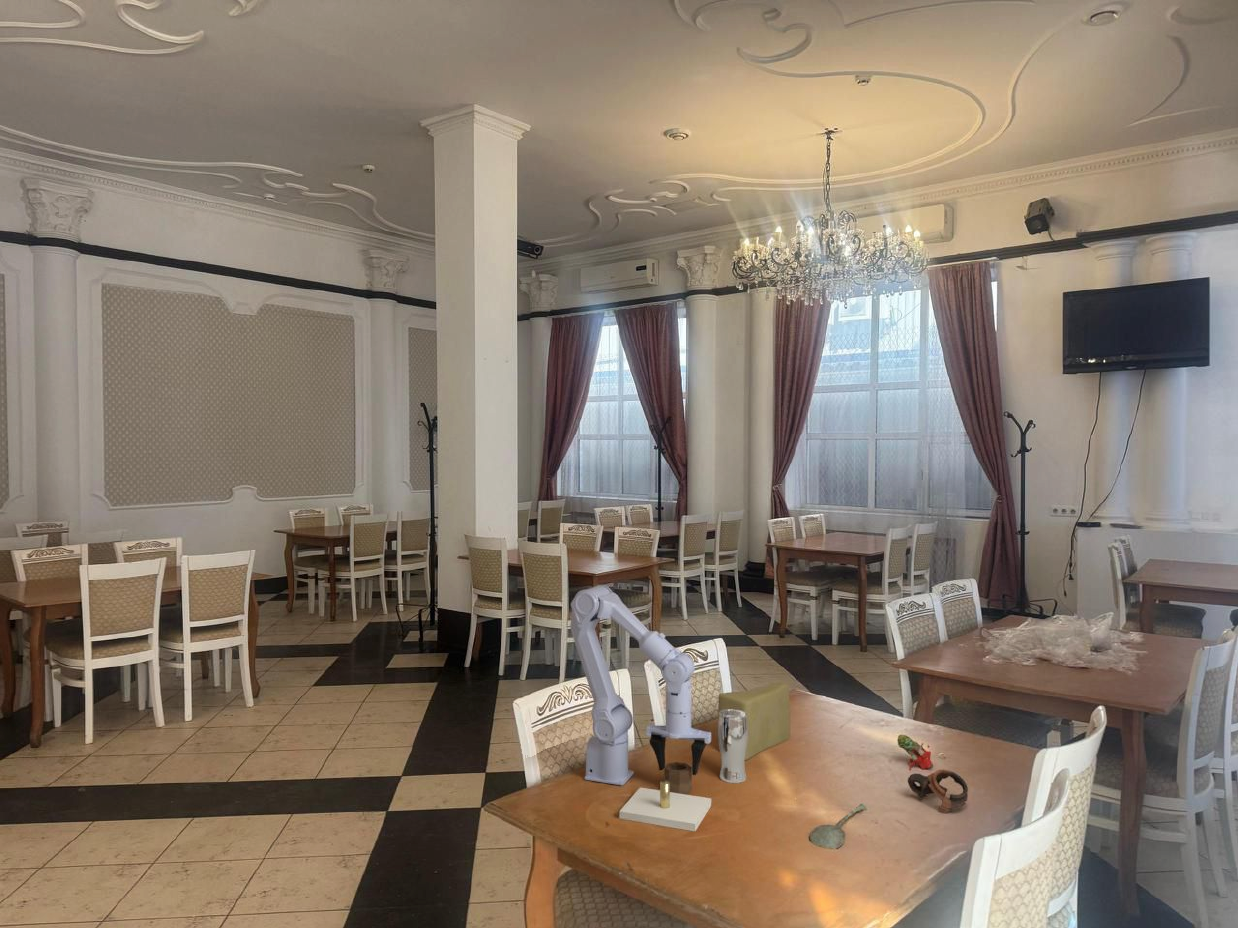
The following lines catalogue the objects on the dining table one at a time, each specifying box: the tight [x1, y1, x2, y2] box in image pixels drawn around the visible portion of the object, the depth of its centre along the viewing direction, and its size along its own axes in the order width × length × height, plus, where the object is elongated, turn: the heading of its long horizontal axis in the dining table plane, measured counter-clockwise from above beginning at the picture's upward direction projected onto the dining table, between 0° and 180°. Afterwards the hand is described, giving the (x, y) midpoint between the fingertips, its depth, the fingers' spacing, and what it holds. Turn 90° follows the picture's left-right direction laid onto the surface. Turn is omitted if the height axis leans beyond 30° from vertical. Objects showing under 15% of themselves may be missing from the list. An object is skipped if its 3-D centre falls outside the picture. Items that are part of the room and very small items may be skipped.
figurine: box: [896, 734, 934, 771], centre depth 196 cm, size 7×9×10 cm
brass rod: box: [659, 780, 670, 809], centre depth 168 cm, size 2×2×6 cm
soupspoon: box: [809, 803, 868, 850], centre depth 162 cm, size 22×3×7 cm
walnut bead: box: [663, 761, 693, 795], centre depth 180 cm, size 6×6×5 cm
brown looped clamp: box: [907, 769, 969, 814], centre depth 174 cm, size 12×10×8 cm
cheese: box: [717, 682, 791, 761], centre depth 208 cm, size 22×10×15 cm, turn 129°
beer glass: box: [717, 709, 748, 784], centre depth 187 cm, size 7×7×15 cm
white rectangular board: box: [618, 786, 712, 832], centre depth 169 cm, size 16×13×2 cm
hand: (678, 771), depth 180 cm, fingers open, 7 cm apart
